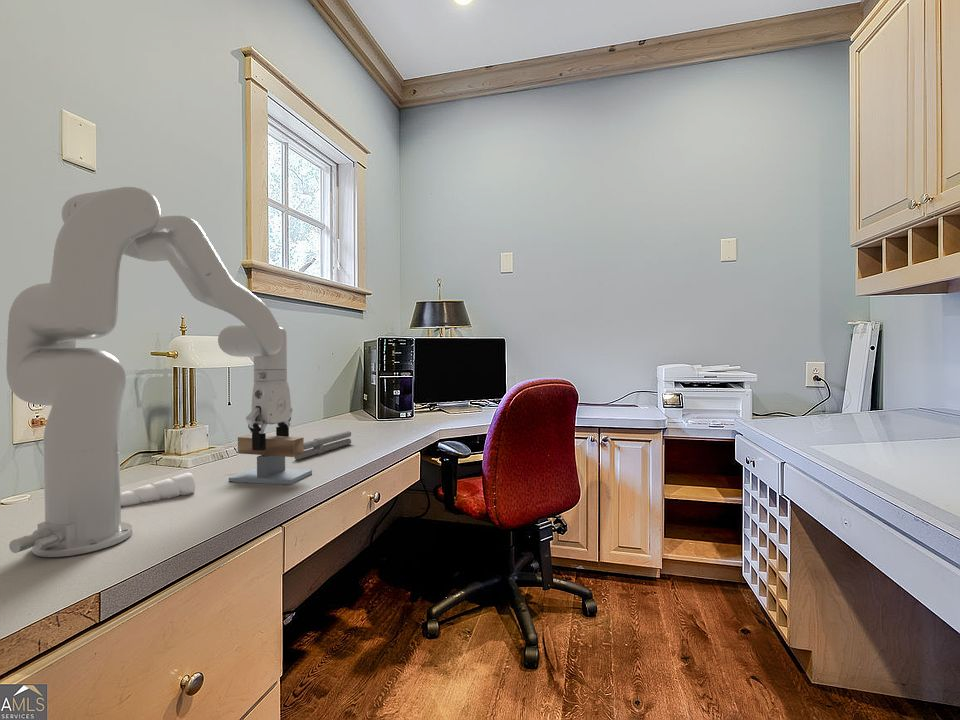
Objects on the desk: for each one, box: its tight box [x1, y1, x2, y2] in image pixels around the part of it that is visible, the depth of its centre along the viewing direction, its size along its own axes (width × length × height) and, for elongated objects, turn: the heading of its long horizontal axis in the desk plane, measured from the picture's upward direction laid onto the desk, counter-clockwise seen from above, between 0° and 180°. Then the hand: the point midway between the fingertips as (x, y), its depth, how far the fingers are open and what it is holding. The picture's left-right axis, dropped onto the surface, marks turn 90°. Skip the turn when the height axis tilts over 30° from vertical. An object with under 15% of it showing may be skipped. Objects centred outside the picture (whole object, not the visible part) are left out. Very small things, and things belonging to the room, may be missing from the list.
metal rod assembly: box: [293, 430, 352, 461], centre depth 150 cm, size 26×3×5 cm, turn 161°
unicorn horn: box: [120, 472, 196, 507], centre depth 99 cm, size 5×24×5 cm, turn 132°
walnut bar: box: [237, 434, 305, 458], centre depth 119 cm, size 4×16×4 cm, turn 74°
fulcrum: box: [228, 455, 313, 485], centre depth 119 cm, size 10×16×6 cm, turn 80°
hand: (271, 446), depth 119 cm, fingers open, 9 cm apart
